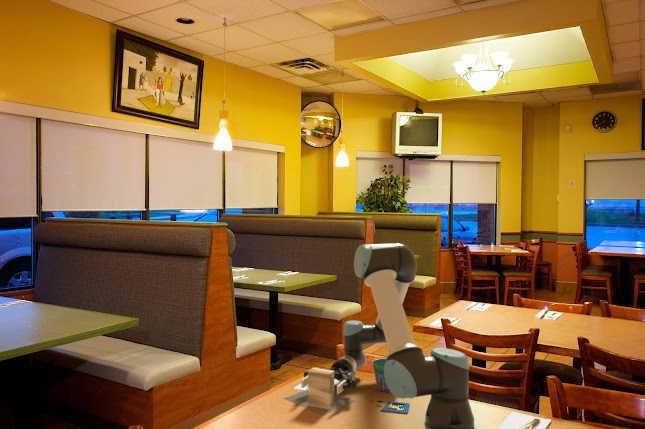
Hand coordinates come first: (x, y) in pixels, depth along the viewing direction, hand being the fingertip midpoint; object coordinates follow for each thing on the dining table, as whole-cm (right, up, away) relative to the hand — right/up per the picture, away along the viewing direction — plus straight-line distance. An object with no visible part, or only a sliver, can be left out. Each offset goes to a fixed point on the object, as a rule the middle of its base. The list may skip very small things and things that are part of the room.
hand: (319, 387), depth 174 cm
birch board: (+1, -7, 0) cm, 7 cm away
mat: (0, -7, +5) cm, 9 cm away
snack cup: (+25, -7, +17) cm, 31 cm away
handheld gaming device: (+23, -8, 0) cm, 24 cm away
